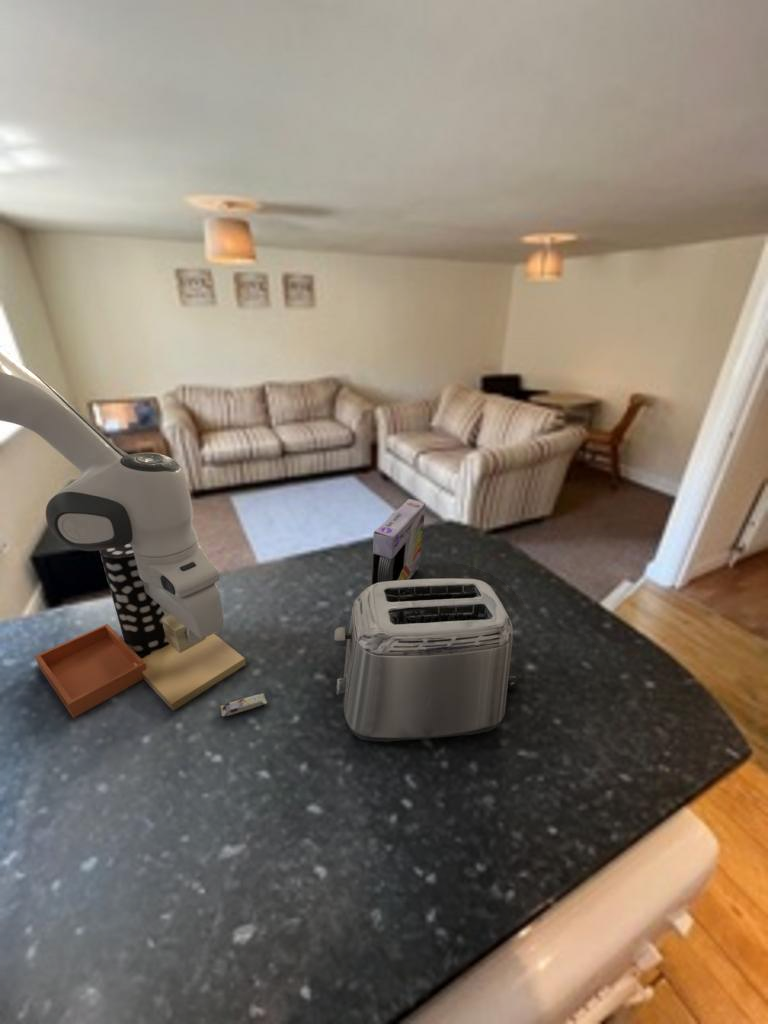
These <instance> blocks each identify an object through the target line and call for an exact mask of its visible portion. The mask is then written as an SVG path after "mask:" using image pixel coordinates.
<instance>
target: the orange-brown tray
mask: <svg viewBox="0 0 768 1024" xmlns="http://www.w3.org/2000/svg"><path fill="white" fill-rule="evenodd" d="M34 657H35V660H36V662H37V665H38V669H39V670H40V671H41V673H42V674H43V676H44V677H45V679H46V680H47V681H48V683H49V684H50V686H51V687H52V689H53V690H54V692H55V693H56V695H57V696H58V698H59V700H60V701H61V702H62V704H63V705H64V707H65V708H66V710H67V711H68V713H69V714H70V716H71V717H72V718H73V719H74V718H76V717H78V716H80V715H81V714H83V713H85V712H86V711H89V710H90V709H92V708H95V707H96V706H98V705H99V704H101V703H103V702H105V701H107V700H109V699H110V698H112V697H114V696H116V695H117V694H119V693H121V692H122V691H124V690H126V689H128V688H129V687H132V686H134V685H135V684H137V683H139V682H140V681H143V680H144V679H143V676H142V672H143V671H145V670H146V669H147V667H146V663H145V662H144V661H143V660H142V658H141V657H140V656H138V655H137V654H136V653H135V652H134V651H133V650H132V649H131V648H130V647H129V646H128V645H127V644H126V643H125V641H124V638H123V637H121V636H120V635H119V634H118V633H117V632H116V631H115V630H114V629H113V627H111V626H110V624H108V623H106V624H104V625H101V626H99V627H96V628H94V629H92V630H89V631H87V632H86V633H83V634H81V635H79V636H76V637H74V638H72V639H70V640H67V641H65V642H63V643H61V644H59V645H57V646H54V647H52V648H50V649H47V650H45V651H43V652H41V653H38V654H37V655H35V656H34ZM133 663H136V664H137V665H136V666H135V667H134V664H133Z"/></svg>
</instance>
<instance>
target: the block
mask: <svg viewBox="0 0 768 1024" xmlns="http://www.w3.org/2000/svg"><path fill="white" fill-rule="evenodd" d="M162 623H163V628H164V632H165V636H166V641H167V642H168V643H169V644H171V645H172V646H173V647H174V648H175V649H176V650H177V651H178V652H179V653H182V652H183V651H185V650H187V649H189V648H191V647H192V646H194V645H196V644H198V643H200V642H202V641H203V640H205V639H206V638H203V639H199V640H198V641H196V642H194V643H190V642H189V641H188V640H187V639H186V638H185V633H184V632H185V631H187V628H186V627H185V626H184V625H183V624H182V623H181V622H180V621H178V620H177V619H176V618H175V617H174V616H172V615H169V616H167V617H165V618H163V619H162Z"/></svg>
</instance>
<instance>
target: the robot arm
mask: <svg viewBox="0 0 768 1024" xmlns="http://www.w3.org/2000/svg"><path fill="white" fill-rule="evenodd" d="M0 422H5V423H10V424H14V425H18V426H20V427H24V428H26V429H28V430H30V431H32V432H33V433H35V434H36V435H38V436H39V437H40V438H42V439H43V440H45V442H46V443H47V444H49V445H50V446H51V447H52V448H53V449H55V450H56V452H58V453H59V454H61V456H63V457H64V458H65V459H66V460H67V461H68V462H70V463H71V464H72V465H73V466H74V467H75V468H76V469H78V470H79V472H80V473H81V474H82V476H81V477H79V478H78V479H76V480H74V481H72V482H71V483H69V484H68V485H67V486H65V487H64V488H62V489H61V490H60V491H58V492H57V493H56V494H55V495H54V496H52V497H51V499H49V501H48V502H47V504H46V507H45V519H46V523H47V527H48V528H49V530H50V531H51V533H52V534H53V536H55V537H56V539H58V541H60V542H61V543H62V544H63V545H66V546H67V547H69V548H72V549H75V550H79V551H82V552H83V551H84V552H96V551H100V550H105V549H111V548H116V547H121V546H124V545H127V544H130V545H131V546H132V548H133V552H134V556H135V561H136V565H137V569H138V573H139V577H140V578H141V579H142V580H143V585H144V590H145V592H146V594H147V595H149V596H150V597H151V598H152V599H153V600H155V601H156V602H157V603H158V604H159V605H160V606H161V608H162V610H163V612H164V614H165V616H166V617H167V616H169V615H172V616H174V617H175V618H176V619H177V620H178V621H180V622H181V623H182V624H183V625H184V626H185V627H186V628H187V631H185V632H184V633H185V638H186V639H187V640H188V641H189V642H190V643H194V642H196V641H198V640H199V639H203V638H206V637H208V636H210V635H212V634H213V633H214V634H215V633H217V632H219V631H220V630H221V629H222V627H223V625H224V614H223V613H224V611H223V606H222V605H223V604H222V598H221V592H220V590H219V587H218V586H217V582H219V581H220V572H219V570H218V568H217V567H216V566H215V564H214V563H212V561H211V560H210V559H209V558H208V556H207V555H206V553H205V552H204V550H203V547H202V546H201V545H200V543H199V542H200V541H199V537H198V533H197V531H196V529H195V527H194V524H193V517H194V508H193V502H192V497H191V494H190V492H191V491H190V489H189V485H188V482H187V479H186V475H185V473H184V471H183V468H182V467H181V465H180V464H179V463H178V462H177V461H176V460H175V459H174V458H172V457H169V456H168V455H165V454H161V453H155V452H139V453H138V452H137V453H136V452H135V453H129V454H128V452H125V451H124V450H122V449H120V447H118V446H117V445H116V444H114V443H113V442H112V441H111V440H110V439H109V438H107V437H106V436H105V435H104V434H103V433H102V432H101V431H100V430H99V429H98V428H97V427H96V426H95V425H94V424H93V423H92V422H91V421H89V420H88V418H87V417H85V416H84V415H83V414H82V413H81V412H80V411H79V410H78V409H77V408H76V407H74V405H73V404H72V403H70V402H69V401H68V400H67V399H66V398H65V397H64V396H63V395H61V394H60V392H58V391H57V390H56V389H55V388H54V387H52V386H51V385H50V384H49V383H48V382H46V381H45V380H43V379H42V378H41V377H39V376H38V375H37V374H35V373H34V372H32V371H31V370H29V369H28V368H26V367H25V366H24V365H23V364H21V363H20V362H19V361H17V360H16V358H14V357H13V356H11V354H10V353H8V352H7V351H6V350H5V349H4V348H3V346H0Z"/></svg>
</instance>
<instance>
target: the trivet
mask: <svg viewBox="0 0 768 1024" xmlns="http://www.w3.org/2000/svg"><path fill="white" fill-rule="evenodd" d="M141 659H142V660H143V661H144V662H145V663H146V667H147V669H146V670H145V671H143V672H142V676H143V679H142V680H144V681H145V683H147V685H148V686H149V687H150V688H151V689H152V690H153V691H154V692H155V693H156V694H157V696H158V697H159V698H160V699H161V700H162V701H164V703H165V704H166V705H167V707H169V708H170V709H171V711H173V712H174V711H176V710H177V709H179V708H181V707H182V706H183V705H185V704H187V703H188V702H190V701H191V700H193V699H194V698H196V697H198V696H199V695H201V694H202V693H204V692H206V691H207V690H208V689H210V688H211V687H213V686H215V685H216V684H218V683H219V682H221V681H223V680H224V679H226V678H228V677H229V676H230V675H232V674H234V673H235V672H237V671H238V670H240V669H242V668H243V667H245V666H246V664H247V663H246V658H245V657H244V656H243V655H242V654H241V653H239V652H238V651H236V649H234V648H233V647H231V646H230V645H229V644H228V643H226V642H225V641H224V640H223V639H221V638H220V637H219V636H218V635H217V634H215V633H213V634H212V635H210V636H208V637H206V639H205V640H203V641H202V642H200V643H198V644H196V645H194V646H192V647H191V648H189V649H187V650H185V651H183V652H182V653H179V652H178V651H177V650H176V649H175V648H174V647H173V646H172V645H171V644H169V645H167V646H165V647H163V648H161V649H159V650H157V651H156V652H154V653H152V654H150V655H145V656H144V657H142V658H141ZM133 664H134V667H135V666H136V665H137V664H136V663H133Z"/></svg>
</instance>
